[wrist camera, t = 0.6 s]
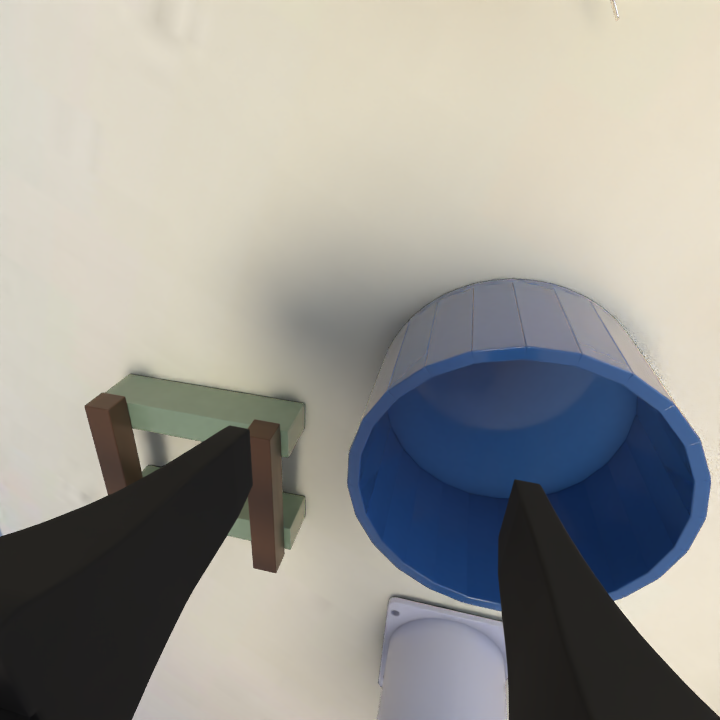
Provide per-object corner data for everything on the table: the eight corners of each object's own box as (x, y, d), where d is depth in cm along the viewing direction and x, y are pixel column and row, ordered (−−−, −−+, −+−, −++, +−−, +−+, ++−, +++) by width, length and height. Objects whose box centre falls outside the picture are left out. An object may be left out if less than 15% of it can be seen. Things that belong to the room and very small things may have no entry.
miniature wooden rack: (305, 516, 28) (290, 550, 26) (152, 484, 30) (126, 513, 27) (305, 403, 24) (288, 431, 22) (129, 373, 26) (97, 397, 24)
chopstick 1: (153, 524, 27) (139, 542, 26) (133, 519, 28) (118, 537, 26) (125, 395, 23) (107, 410, 22) (102, 391, 23) (83, 405, 22)
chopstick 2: (284, 553, 26) (276, 574, 25) (262, 548, 26) (253, 568, 25) (280, 423, 22) (269, 440, 21) (254, 418, 22) (242, 434, 21)
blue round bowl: (599, 516, 23) (638, 643, 18) (372, 473, 25) (341, 575, 20) (687, 297, 18) (782, 381, 12) (389, 263, 20) (355, 322, 14)
